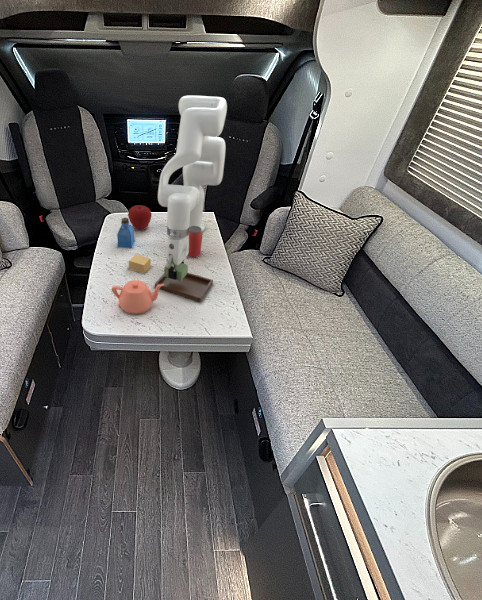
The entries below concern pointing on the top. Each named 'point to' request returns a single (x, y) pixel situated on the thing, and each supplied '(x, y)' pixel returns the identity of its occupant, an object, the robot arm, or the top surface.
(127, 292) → the teapot
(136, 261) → the yellow rectangular block
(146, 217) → the apple
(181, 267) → the green block
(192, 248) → the beer can
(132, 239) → the perfume bottle
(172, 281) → the brown tray
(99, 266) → the top surface
